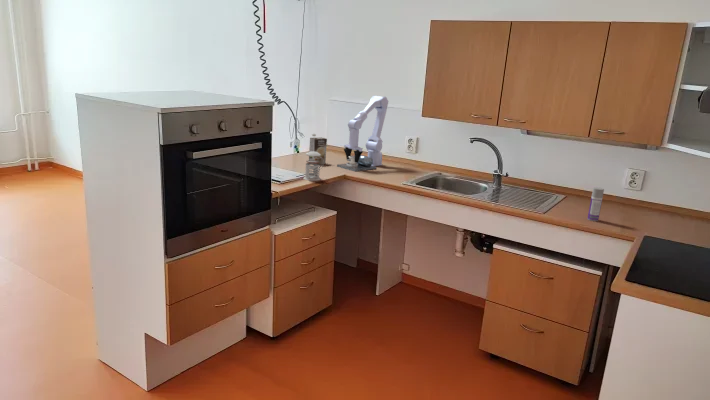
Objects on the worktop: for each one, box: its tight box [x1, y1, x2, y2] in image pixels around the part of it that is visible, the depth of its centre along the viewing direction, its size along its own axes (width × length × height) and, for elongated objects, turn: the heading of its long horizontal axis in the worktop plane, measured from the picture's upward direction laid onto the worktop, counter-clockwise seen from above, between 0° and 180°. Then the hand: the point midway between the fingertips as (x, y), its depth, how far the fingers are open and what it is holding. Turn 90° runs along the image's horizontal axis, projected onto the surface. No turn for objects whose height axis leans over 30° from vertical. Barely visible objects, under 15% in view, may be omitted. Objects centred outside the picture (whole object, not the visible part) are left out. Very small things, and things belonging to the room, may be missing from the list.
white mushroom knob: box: [346, 155, 356, 164], centre depth 324 cm, size 7×6×6 cm
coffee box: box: [308, 137, 328, 165], centre depth 331 cm, size 9×6×16 cm
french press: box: [303, 133, 324, 182], centre depth 286 cm, size 10×12×25 cm
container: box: [587, 186, 605, 222], centre depth 241 cm, size 5×5×15 cm
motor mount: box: [336, 154, 377, 172], centre depth 326 cm, size 18×17×7 cm
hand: (352, 161), depth 325 cm, fingers open, 7 cm apart
